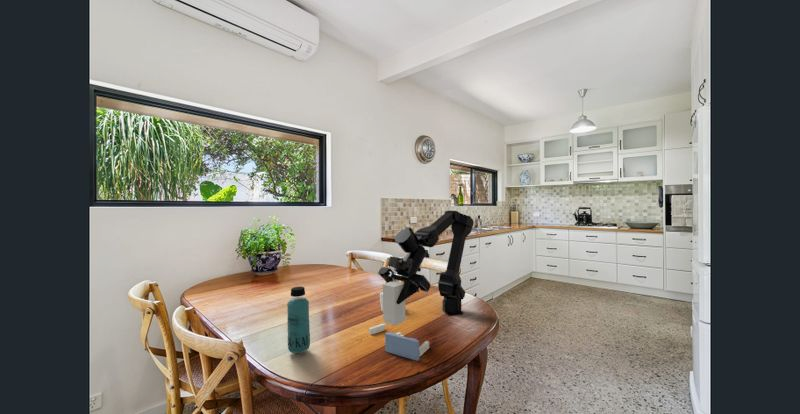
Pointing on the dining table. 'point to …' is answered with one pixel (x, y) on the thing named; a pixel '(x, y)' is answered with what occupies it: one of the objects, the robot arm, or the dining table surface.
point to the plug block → (393, 303)
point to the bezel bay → (404, 346)
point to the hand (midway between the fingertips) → (391, 301)
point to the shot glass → (381, 299)
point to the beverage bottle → (298, 321)
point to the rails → (379, 329)
